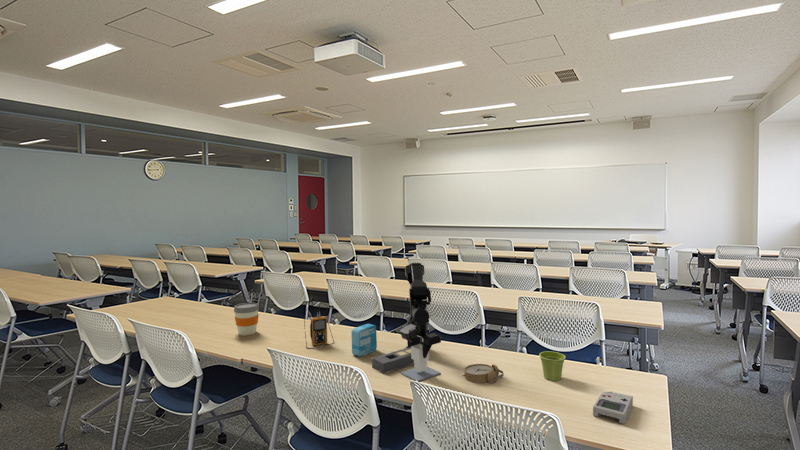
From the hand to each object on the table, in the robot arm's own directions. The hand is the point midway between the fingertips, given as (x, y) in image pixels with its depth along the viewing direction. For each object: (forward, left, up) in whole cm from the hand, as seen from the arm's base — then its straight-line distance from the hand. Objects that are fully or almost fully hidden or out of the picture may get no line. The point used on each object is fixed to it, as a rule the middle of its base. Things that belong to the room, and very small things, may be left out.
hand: (420, 356), depth 164 cm
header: (+1, -14, -7) cm, 16 cm away
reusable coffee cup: (+36, -102, -7) cm, 108 cm away
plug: (0, 0, -5) cm, 5 cm away
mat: (0, 0, -7) cm, 7 cm away
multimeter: (+15, -56, -8) cm, 58 cm away
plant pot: (-36, +35, -7) cm, 51 cm away
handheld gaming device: (-28, +62, -8) cm, 68 cm away
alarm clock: (-16, +18, -8) cm, 26 cm away
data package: (+4, -35, -8) cm, 36 cm away
